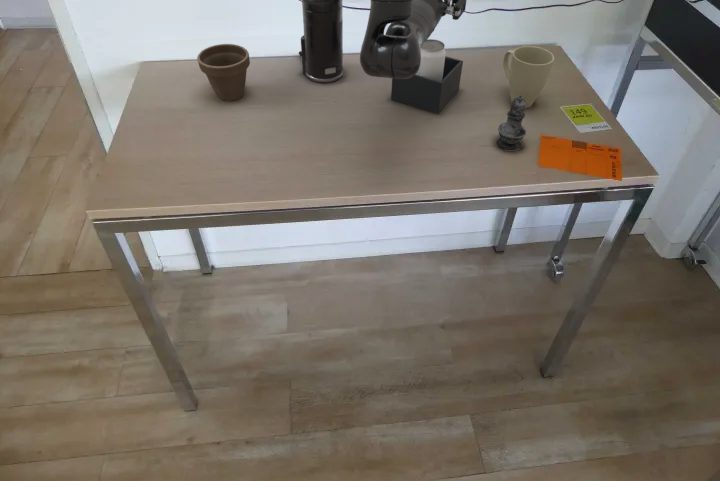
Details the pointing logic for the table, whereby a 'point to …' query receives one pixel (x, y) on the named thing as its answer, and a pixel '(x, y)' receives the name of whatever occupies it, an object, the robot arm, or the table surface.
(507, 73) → the mug
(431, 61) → the can
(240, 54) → the flower pot
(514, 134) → the grey chess piece
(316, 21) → the robot arm
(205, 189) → the table surface
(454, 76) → the waste bin
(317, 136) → the table surface
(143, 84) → the table surface
